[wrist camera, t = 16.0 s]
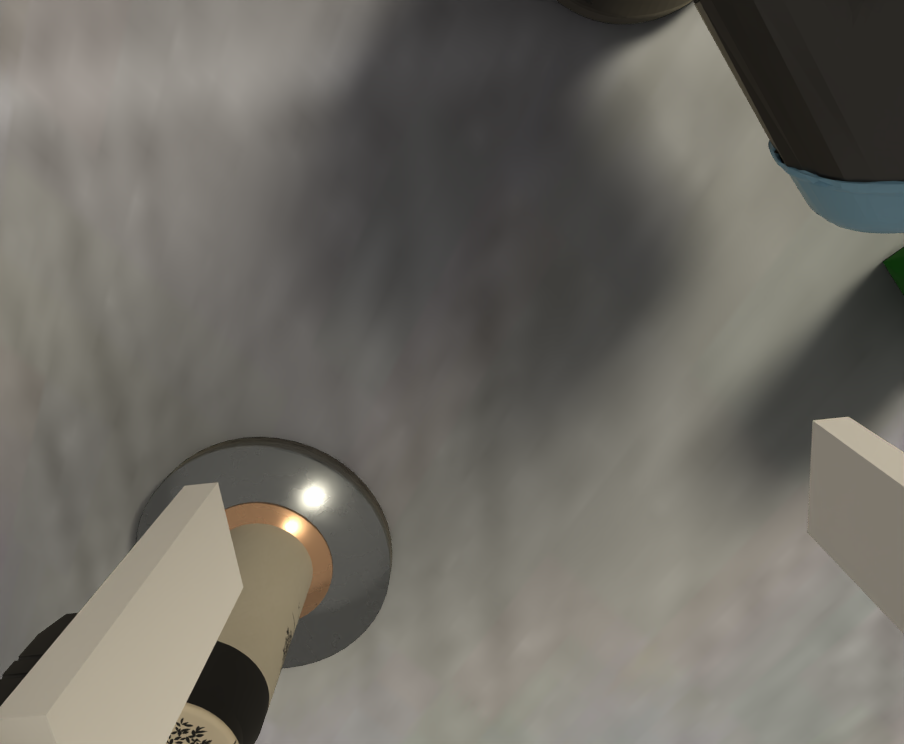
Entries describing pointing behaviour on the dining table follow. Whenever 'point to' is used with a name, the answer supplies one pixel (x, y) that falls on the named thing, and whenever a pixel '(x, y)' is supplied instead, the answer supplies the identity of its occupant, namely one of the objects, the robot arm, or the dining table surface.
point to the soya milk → (896, 268)
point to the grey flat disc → (301, 529)
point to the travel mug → (249, 640)
